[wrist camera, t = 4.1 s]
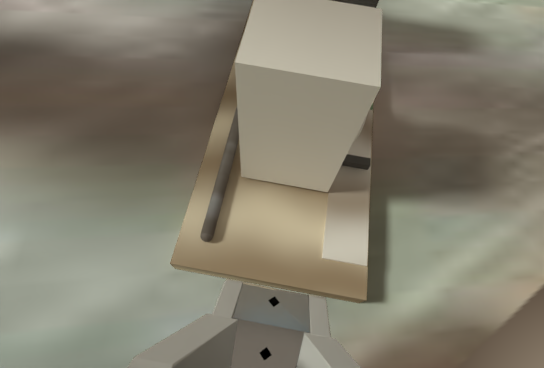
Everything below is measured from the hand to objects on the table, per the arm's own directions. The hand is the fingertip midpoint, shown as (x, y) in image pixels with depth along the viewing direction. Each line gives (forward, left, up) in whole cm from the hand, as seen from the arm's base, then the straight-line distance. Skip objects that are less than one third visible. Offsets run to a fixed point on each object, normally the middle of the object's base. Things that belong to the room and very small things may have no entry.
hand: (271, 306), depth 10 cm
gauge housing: (-10, +7, -9) cm, 16 cm away
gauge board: (-13, +8, -11) cm, 19 cm away
